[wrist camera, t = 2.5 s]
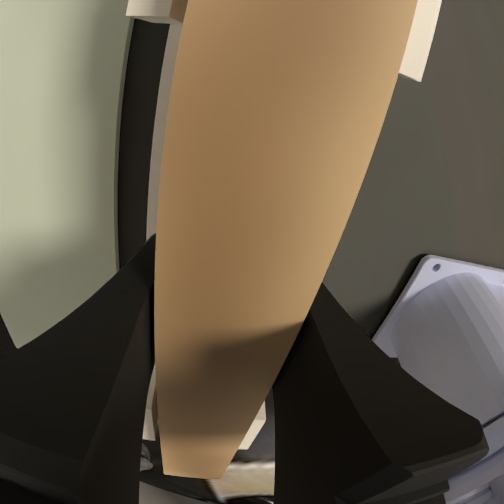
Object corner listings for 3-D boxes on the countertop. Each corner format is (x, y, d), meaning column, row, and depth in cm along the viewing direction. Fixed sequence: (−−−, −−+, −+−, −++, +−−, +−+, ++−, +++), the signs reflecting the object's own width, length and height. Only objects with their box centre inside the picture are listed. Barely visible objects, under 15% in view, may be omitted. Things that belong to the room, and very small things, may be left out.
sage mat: (173, -113, 5) (171, -119, 4) (130, 369, 20) (128, 375, 19) (-12, -72, 3) (-18, -73, 3) (18, 342, 18) (16, 347, 18)
